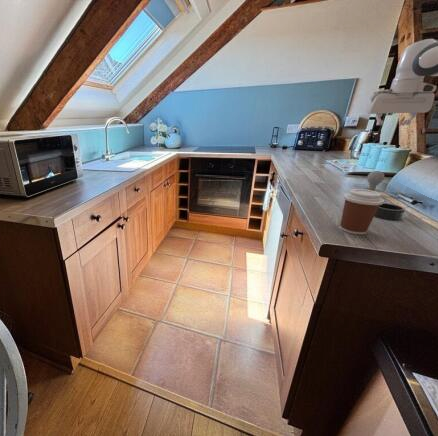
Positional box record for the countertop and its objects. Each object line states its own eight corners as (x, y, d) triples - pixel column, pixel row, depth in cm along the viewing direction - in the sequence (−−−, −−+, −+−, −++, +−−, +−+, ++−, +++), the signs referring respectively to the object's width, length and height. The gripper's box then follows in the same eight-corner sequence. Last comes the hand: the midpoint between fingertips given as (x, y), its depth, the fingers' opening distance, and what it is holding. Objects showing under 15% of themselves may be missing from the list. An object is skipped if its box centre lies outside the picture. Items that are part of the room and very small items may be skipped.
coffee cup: (378, 232, 72) (393, 193, 68) (361, 238, 69) (376, 198, 64) (344, 221, 80) (356, 186, 75) (327, 227, 76) (338, 190, 72)
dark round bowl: (393, 213, 86) (397, 204, 85) (405, 221, 79) (409, 211, 78) (366, 210, 89) (369, 201, 87) (375, 218, 82) (379, 208, 81)
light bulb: (372, 191, 110) (380, 169, 107) (381, 195, 105) (390, 172, 102) (359, 191, 111) (366, 169, 107) (367, 194, 106) (375, 172, 102)
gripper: (377, 89, 99) (367, 125, 104) (442, 86, 93) (427, 124, 99) (369, 90, 105) (359, 125, 110) (430, 88, 99) (416, 124, 104)
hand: (392, 124), depth 104 cm, fingers open, 8 cm apart
